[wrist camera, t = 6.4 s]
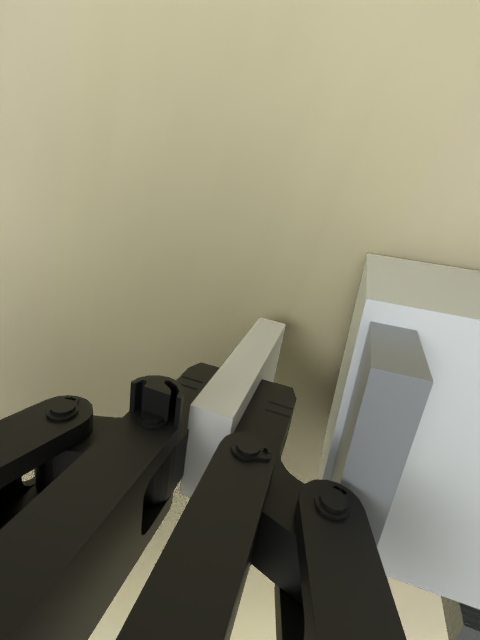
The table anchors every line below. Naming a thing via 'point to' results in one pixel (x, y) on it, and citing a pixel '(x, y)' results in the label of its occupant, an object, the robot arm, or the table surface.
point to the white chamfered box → (413, 422)
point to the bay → (461, 620)
